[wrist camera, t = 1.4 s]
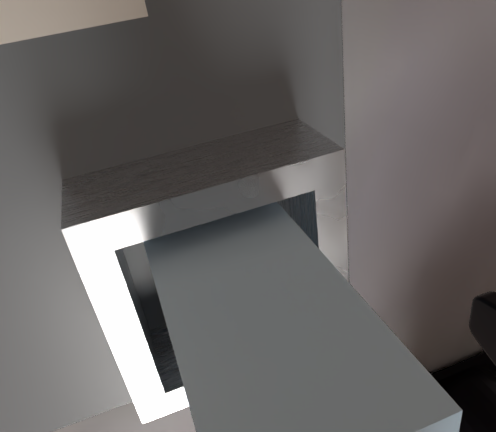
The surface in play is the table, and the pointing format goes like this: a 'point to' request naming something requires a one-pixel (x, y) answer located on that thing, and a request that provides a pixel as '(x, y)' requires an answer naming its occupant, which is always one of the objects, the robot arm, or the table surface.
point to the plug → (284, 336)
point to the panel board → (126, 150)
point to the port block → (62, 16)
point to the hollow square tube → (189, 215)
